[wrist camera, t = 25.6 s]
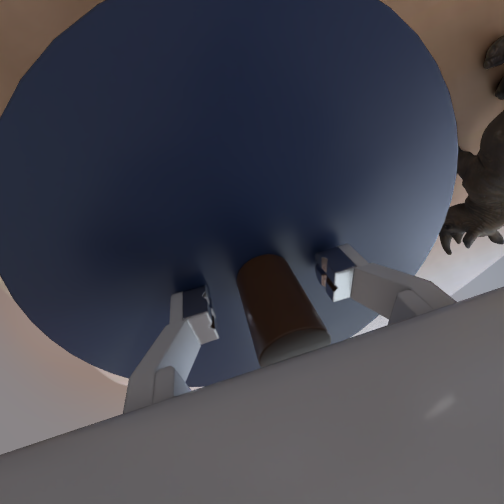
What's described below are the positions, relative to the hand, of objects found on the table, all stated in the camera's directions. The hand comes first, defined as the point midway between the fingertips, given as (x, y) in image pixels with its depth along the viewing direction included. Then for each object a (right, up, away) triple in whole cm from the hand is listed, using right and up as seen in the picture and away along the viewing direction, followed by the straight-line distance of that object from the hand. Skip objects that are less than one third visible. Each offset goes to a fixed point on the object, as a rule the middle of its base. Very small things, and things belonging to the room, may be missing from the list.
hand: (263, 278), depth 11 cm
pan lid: (0, 0, +1) cm, 1 cm away
